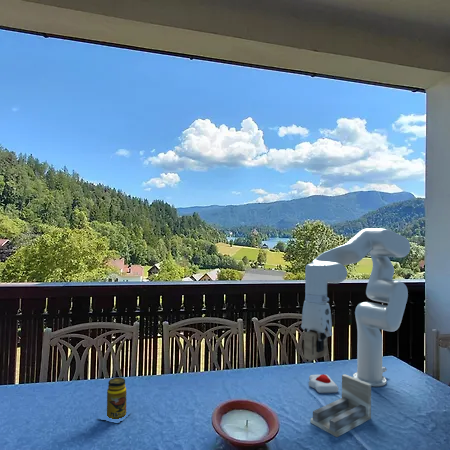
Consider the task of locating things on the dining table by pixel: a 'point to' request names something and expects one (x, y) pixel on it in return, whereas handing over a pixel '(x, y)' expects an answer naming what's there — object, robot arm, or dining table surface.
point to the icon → (323, 384)
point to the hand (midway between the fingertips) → (315, 349)
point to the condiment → (116, 398)
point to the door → (313, 346)
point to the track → (345, 408)
